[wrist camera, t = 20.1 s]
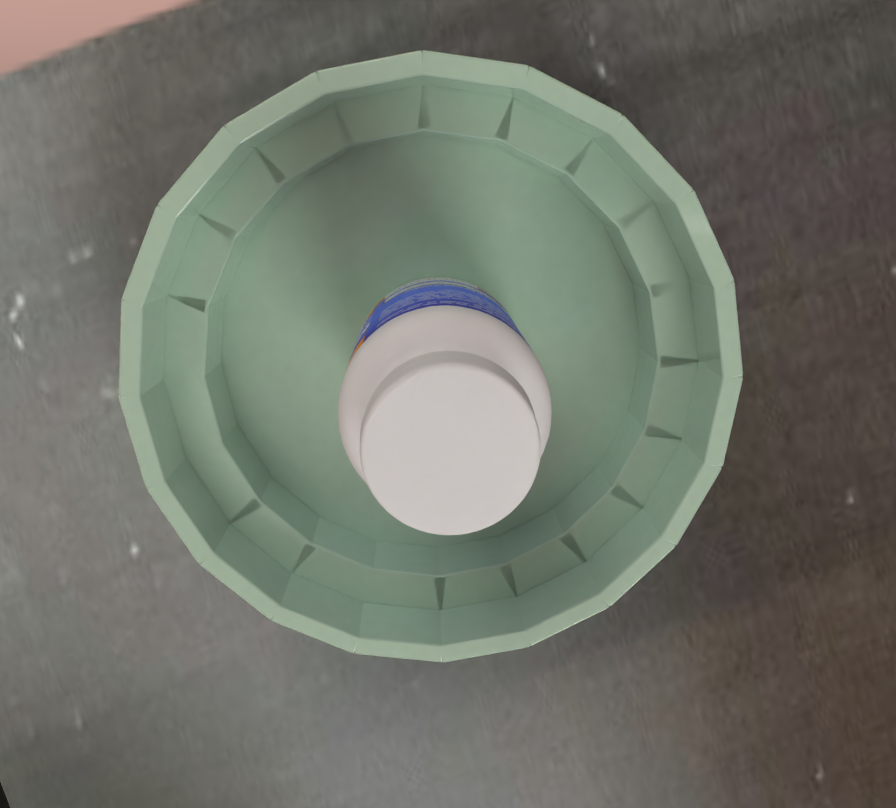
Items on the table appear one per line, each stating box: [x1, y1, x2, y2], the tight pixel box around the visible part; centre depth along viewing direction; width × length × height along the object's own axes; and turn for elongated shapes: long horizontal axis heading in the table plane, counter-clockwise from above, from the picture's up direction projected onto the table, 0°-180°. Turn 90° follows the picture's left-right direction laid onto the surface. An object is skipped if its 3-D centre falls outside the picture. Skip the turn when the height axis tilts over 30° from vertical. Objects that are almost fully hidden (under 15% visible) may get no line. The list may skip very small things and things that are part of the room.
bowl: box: [118, 50, 743, 662], centre depth 25 cm, size 17×17×5 cm
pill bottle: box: [338, 277, 552, 535], centre depth 22 cm, size 5×5×10 cm
